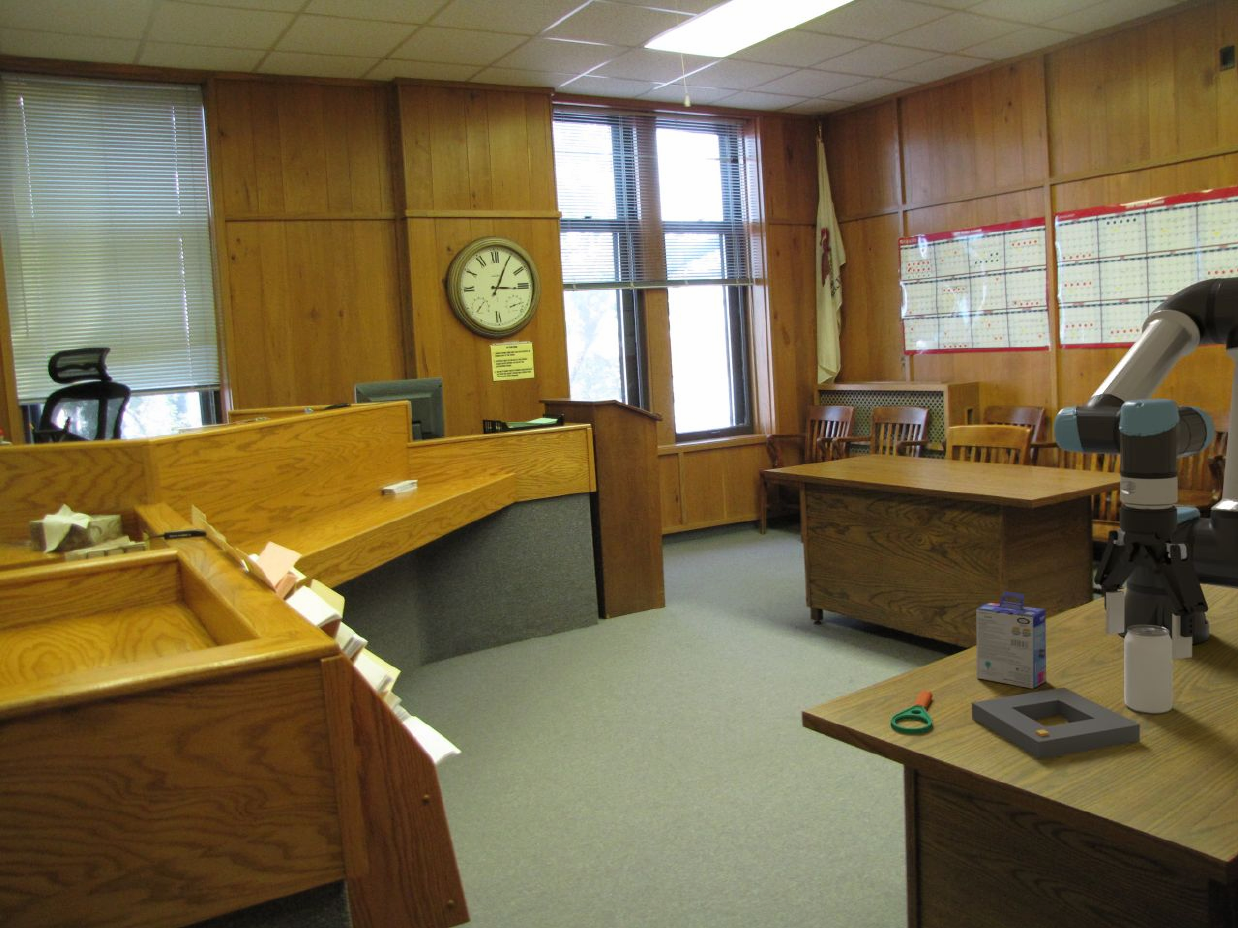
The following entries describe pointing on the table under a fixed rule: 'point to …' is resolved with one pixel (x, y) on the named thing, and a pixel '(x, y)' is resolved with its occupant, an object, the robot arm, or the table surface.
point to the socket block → (1082, 734)
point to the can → (1148, 669)
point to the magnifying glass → (915, 715)
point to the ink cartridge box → (1011, 642)
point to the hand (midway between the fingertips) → (1147, 644)
